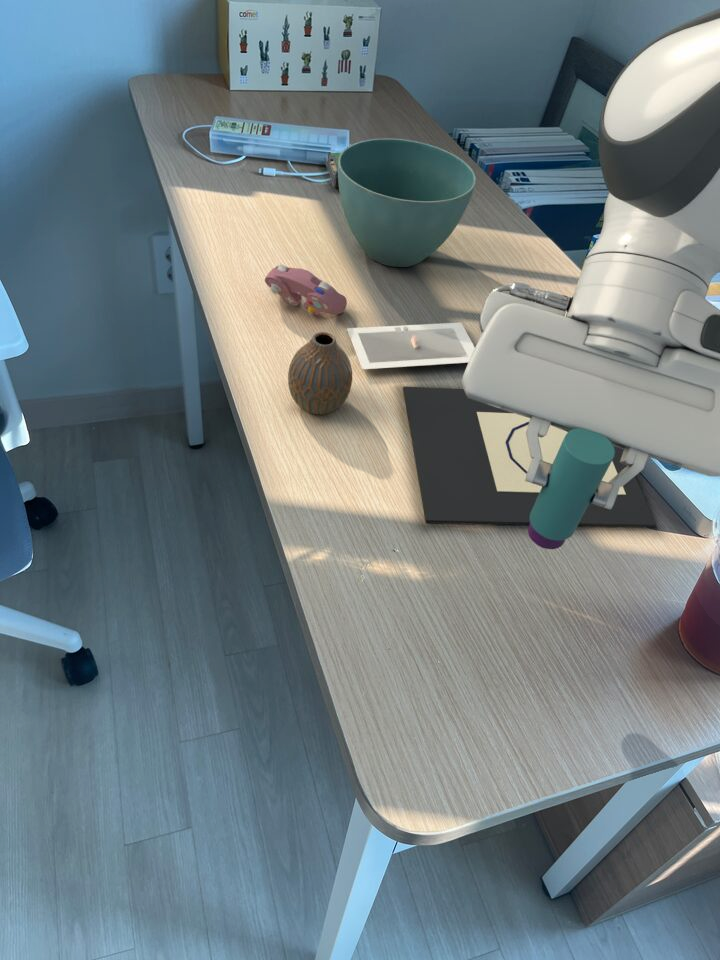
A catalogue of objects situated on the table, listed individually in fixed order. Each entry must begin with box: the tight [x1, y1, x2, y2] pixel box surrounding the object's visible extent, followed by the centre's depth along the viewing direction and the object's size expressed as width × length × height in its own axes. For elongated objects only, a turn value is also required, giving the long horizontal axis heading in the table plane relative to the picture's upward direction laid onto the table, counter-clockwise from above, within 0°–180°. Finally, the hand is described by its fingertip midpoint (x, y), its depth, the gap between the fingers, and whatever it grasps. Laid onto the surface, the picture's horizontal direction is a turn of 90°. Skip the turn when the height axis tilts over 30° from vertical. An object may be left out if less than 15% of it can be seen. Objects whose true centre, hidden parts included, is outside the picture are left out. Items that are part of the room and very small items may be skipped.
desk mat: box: [402, 386, 657, 528], centre depth 82 cm, size 24×20×1 cm
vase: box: [287, 331, 353, 415], centre depth 81 cm, size 7×7×9 cm
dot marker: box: [527, 428, 615, 550], centre depth 56 cm, size 4×4×10 cm
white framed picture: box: [346, 322, 476, 370], centre depth 92 cm, size 8×15×2 cm, turn 104°
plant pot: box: [338, 138, 477, 268], centre depth 103 cm, size 18×18×12 cm
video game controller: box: [264, 263, 348, 316], centre depth 94 cm, size 10×5×7 cm, turn 62°
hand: (567, 495), depth 56 cm, fingers closed on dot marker, 3 cm apart
